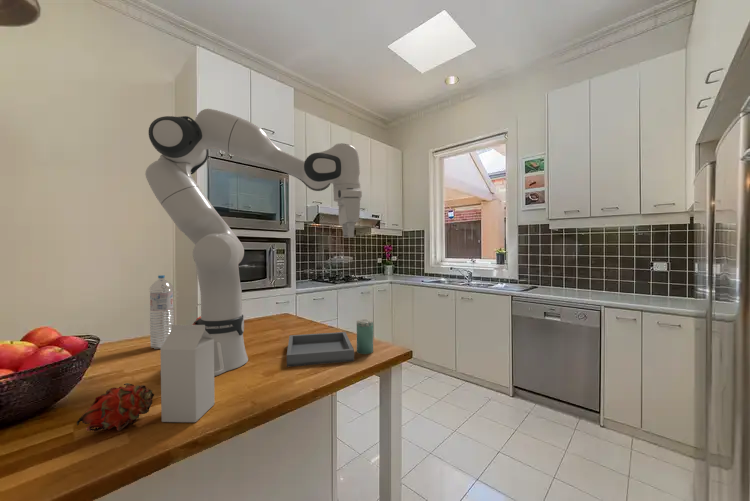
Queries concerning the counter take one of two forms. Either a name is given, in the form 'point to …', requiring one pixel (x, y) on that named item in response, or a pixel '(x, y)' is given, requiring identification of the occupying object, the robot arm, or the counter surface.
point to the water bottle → (161, 311)
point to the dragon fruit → (117, 407)
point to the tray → (319, 349)
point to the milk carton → (187, 374)
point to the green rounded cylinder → (364, 336)
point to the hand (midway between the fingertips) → (348, 237)
